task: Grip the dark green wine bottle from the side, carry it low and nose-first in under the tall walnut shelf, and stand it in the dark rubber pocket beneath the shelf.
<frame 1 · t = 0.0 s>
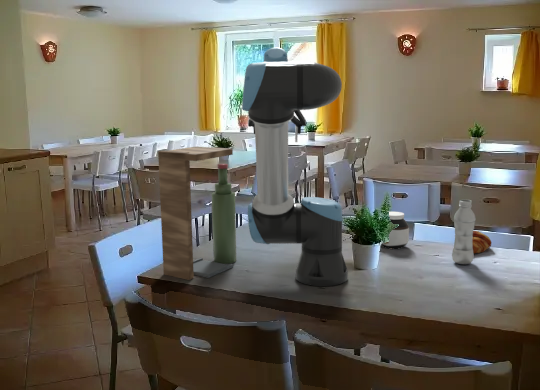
hand: (277, 139, 213), 36 cm above the table, tool tilted 35°, fingers open, 13 cm apart
croissant: (475, 249, 201), on the table
wine bottle: (225, 260, 191), on the table
spread jar: (387, 247, 205), on the table
seat pad: (205, 268, 182), on the table
shelf: (205, 268, 182), on the table
plastic bottle: (462, 264, 185), on the table
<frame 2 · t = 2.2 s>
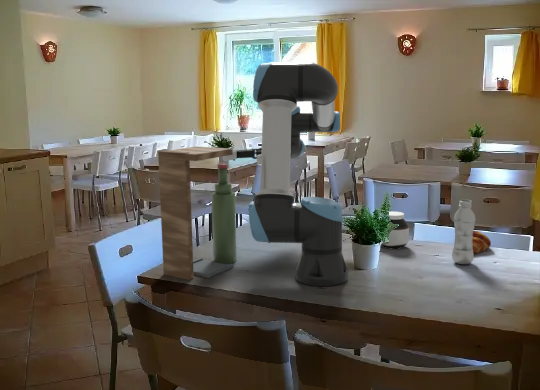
hand: (240, 158, 193), 32 cm above the table, tool horizontal, fingers open, 13 cm apart
nothing on the table moved.
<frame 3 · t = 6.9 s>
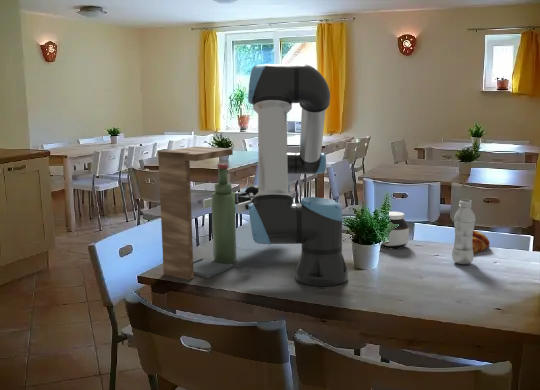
hand: (220, 206, 187), 18 cm above the table, tool horizontal, fingers open, 13 cm apart
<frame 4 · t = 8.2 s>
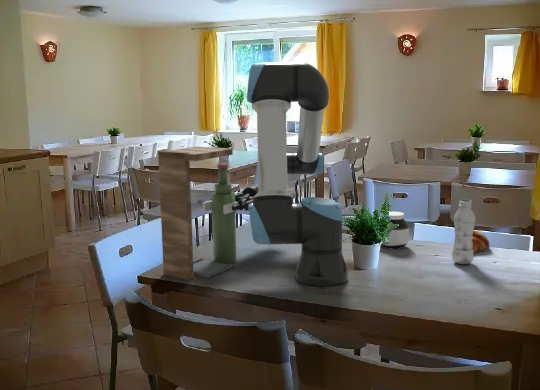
hand: (214, 208, 183), 18 cm above the table, tool horizontal, fingers closed on wine bottle, 7 cm apart
wine bottle: (225, 260, 191), on the table, touching gripper
everything else where it was.
when the fingers open (19 cm above the table, at t = 11.6 s): wine bottle stays where it is, resting on seat pad.
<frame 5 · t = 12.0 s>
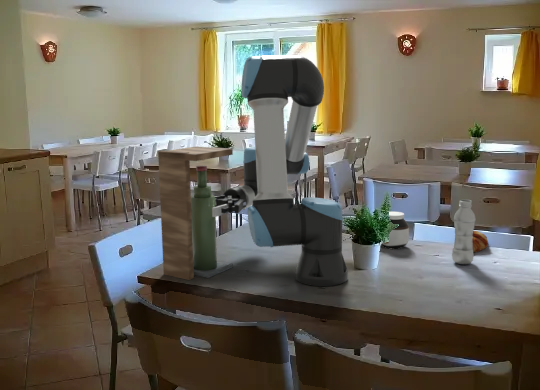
hand: (195, 210, 176), 19 cm above the table, tool horizontal, fingers open, 12 cm apart
wine bottle: (205, 266, 182), point 1 cm above the table, touching seat pad
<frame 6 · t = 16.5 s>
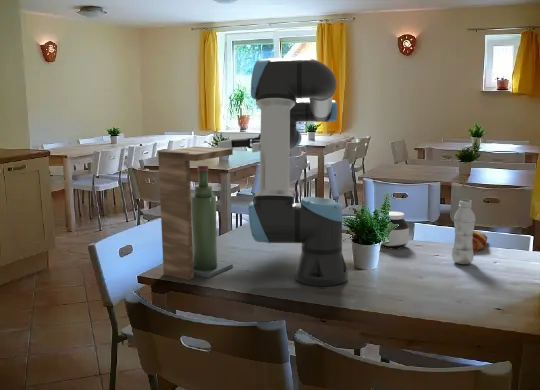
hand: (235, 146, 190), 36 cm above the table, tool horizontal, fingers open, 13 cm apart
at the end: wine bottle 0.1 cm from the seat pad (horizontally); wine bottle tilted 1°; the gripper is holding nothing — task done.
